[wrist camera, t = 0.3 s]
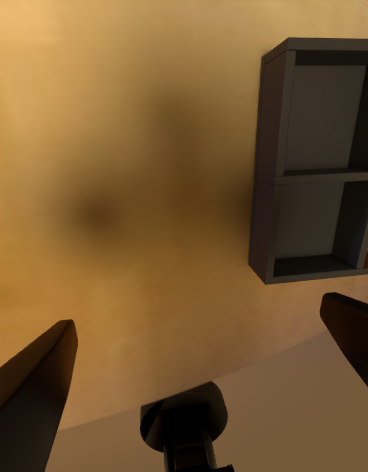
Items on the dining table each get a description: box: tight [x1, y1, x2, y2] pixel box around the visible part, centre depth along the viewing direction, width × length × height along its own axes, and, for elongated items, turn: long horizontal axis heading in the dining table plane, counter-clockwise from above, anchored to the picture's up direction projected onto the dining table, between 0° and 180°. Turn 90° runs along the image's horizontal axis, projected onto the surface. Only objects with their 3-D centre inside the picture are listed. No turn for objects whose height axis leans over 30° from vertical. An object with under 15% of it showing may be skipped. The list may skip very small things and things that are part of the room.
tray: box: [249, 37, 368, 285], centre depth 19 cm, size 16×16×4 cm
